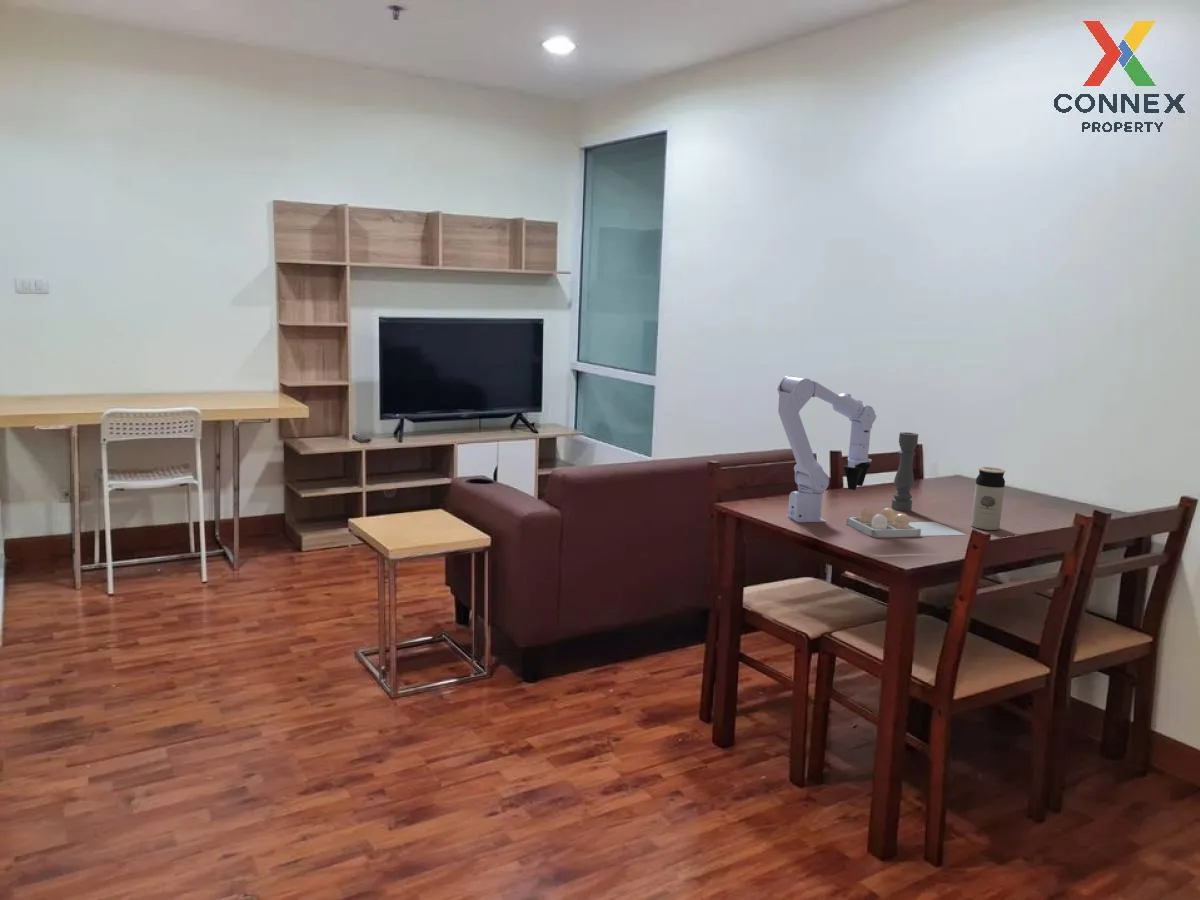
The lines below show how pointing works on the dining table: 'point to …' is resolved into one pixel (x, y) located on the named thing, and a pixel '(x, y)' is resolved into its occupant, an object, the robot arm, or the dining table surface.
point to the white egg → (879, 522)
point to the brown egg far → (888, 514)
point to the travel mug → (988, 498)
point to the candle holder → (905, 472)
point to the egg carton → (912, 530)
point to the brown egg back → (901, 521)
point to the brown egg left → (866, 515)
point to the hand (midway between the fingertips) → (855, 487)
